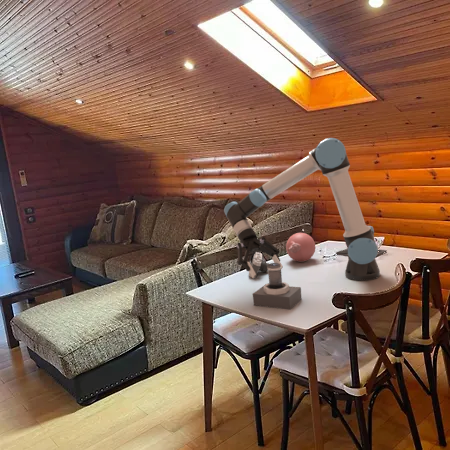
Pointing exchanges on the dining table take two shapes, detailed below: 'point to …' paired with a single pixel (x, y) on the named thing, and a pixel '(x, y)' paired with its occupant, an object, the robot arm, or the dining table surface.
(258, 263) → the camera
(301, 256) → the pink star-marked ball
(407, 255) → the dining table surface
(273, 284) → the lens
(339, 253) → the picture frame
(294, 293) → the grey block socket
